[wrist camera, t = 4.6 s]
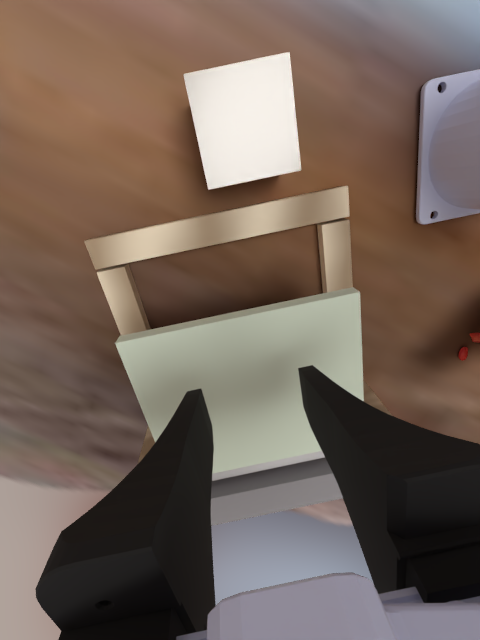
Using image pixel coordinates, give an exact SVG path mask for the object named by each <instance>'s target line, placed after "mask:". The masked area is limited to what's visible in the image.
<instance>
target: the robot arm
mask: <svg viewBox="0 0 480 640" xmlns="http://www.w3.org/2000/svg"><path fill="white" fill-rule="evenodd" d="M439 84H440V85H441V87H442V90H441V92H440V93H439V92H438V89H437V88H438V85H439ZM432 212H434V216H433V217H432V218H430V215H431V213H432ZM478 213H480V69H478V70H473V71H468V72H463V73H458V74H454V75H449V76H444V77H439V78H435V79H432V80H430V81H428V82H426V83H425V84H424V85H423V87H422V90H421V102H420V128H419V153H418V179H417V205H416V221H417V222H418V223H419V224H430V223H435V222H439V221H444V220H449V219H454V218H458V217H463V216H468V215H473V214H478ZM298 371H299V378H300V386H301V393H302V401H303V407H304V410H305V413H306V416H307V419H308V422H309V424H310V427H311V429H312V431H313V434H314V436H315V438H316V440H317V442H318V444H319V446H320V448H321V450H322V452H323V454H324V456H325V458H326V460H327V462H328V464H329V466H330V468H331V470H332V472H333V474H334V477H335V479H336V481H337V483H338V486H339V488H340V491H341V494H342V496H343V499H344V502H345V504H346V507H347V510H348V512H349V515H350V518H351V521H352V523H353V526H354V529H355V531H356V534H357V537H358V539H359V543H360V545H361V548H362V551H363V554H364V557H365V560H366V562H367V565H368V568H369V571H370V574H371V577H372V580H373V583H374V585H373V583H372V581H371V580H369V579H367V578H365V577H363V576H360V575H357V574H355V573H333V574H327V575H323V576H318V577H313V578H308V579H304V580H299V581H294V582H290V583H285V584H280V585H275V586H270V587H265V588H261V589H256V590H251V591H246V592H242V593H238V594H236V595H233V596H230V597H228V598H225V599H223V600H222V601H220V602H219V603H218V604H217V605H216V606H215V591H214V575H213V556H212V537H211V488H212V471H213V452H214V444H213V429H212V423H211V419H210V416H209V413H208V409H207V406H206V403H205V399H204V396H203V392H202V389H196V390H191V391H187V392H186V394H185V396H184V397H183V399H182V401H181V403H180V404H179V406H178V408H177V410H176V411H175V413H174V415H173V416H172V418H171V420H170V421H169V423H168V425H167V426H166V428H165V429H164V431H163V432H162V434H161V435H160V436H159V438H158V439H157V441H156V442H155V444H154V445H153V446H152V448H151V449H150V450H149V452H148V453H147V454H146V455H145V456H144V458H143V459H142V460H141V461H140V462H139V463H138V465H137V466H136V467H135V468H134V469H133V470H132V471H131V472H130V473H129V474H128V475H127V476H126V477H125V478H124V479H123V480H122V481H121V482H120V483H119V484H118V485H117V486H116V487H115V488H114V489H113V490H112V491H111V492H110V493H109V494H108V495H106V496H105V497H104V498H103V499H102V500H101V501H100V502H98V503H97V504H96V505H95V506H94V507H93V508H91V509H90V510H89V511H88V512H87V513H85V514H84V515H83V516H81V517H80V518H79V519H77V520H76V521H75V522H74V523H72V524H71V525H70V526H68V527H67V528H66V529H64V530H63V531H62V532H61V534H60V536H59V538H58V540H57V542H56V544H55V546H54V548H53V550H52V552H51V555H50V557H49V559H48V561H47V564H46V566H45V568H44V571H43V573H42V575H41V578H40V580H39V582H38V585H37V587H36V598H37V600H38V602H39V603H40V605H41V607H42V608H43V610H44V611H45V612H46V613H47V614H48V616H49V617H50V618H51V619H52V620H53V621H54V623H55V624H56V625H57V626H58V627H59V628H60V630H61V634H60V637H59V640H480V445H479V444H477V443H473V442H469V441H465V440H462V439H458V438H454V437H450V436H446V435H443V434H440V433H436V432H433V431H430V430H427V429H424V428H421V427H419V426H416V425H413V424H410V423H408V422H406V421H403V420H401V419H398V418H396V417H393V416H391V415H389V414H387V413H385V412H383V411H381V410H379V409H377V408H375V407H373V406H371V405H369V404H367V403H365V402H364V401H362V400H360V399H359V398H357V397H355V396H354V395H352V394H351V393H349V392H348V391H346V390H345V389H343V388H342V387H341V386H339V385H338V384H336V383H335V382H334V381H332V380H331V379H330V378H328V377H327V376H326V375H324V374H323V373H322V372H321V371H319V370H318V369H317V368H316V367H314V366H313V365H310V366H306V367H301V368H298Z"/></svg>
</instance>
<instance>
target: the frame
mask: <svg viewBox="0 0 480 640" xmlns="http://www.w3.org/2000/svg"><path fill="white" fill-rule="evenodd" d="M344 217H349V194H348V186H340V187H335V188H330V189H325V190H320V191H316V192H311V193H306V194H301V195H297V196H292V197H287V198H282V199H278V200H273V201H268V202H263V203H258V204H254V205H249V206H244V207H239V208H235V209H230V210H225V211H220V212H216V213H211V214H206V215H201V216H196V217H192V218H187V219H182V220H177V221H173V222H168V223H163V224H158V225H154V226H149V227H144V228H139V229H134V230H130V231H125V232H120V233H115V234H111V235H106V236H101V237H96V238H91V239H88V240H86V241H84V242H85V244H86V247H87V249H88V252H89V255H90V257H91V260H92V262H93V265H94V267H95V270H96V269H101V268H104V269H101V270H100V271H98V272H97V275H98V278H99V280H100V283H101V285H102V288H103V290H104V293H105V296H106V298H107V301H108V303H109V306H110V308H111V311H112V313H113V316H114V319H115V321H116V324H117V326H118V329H119V331H120V334H121V336H122V335H127V334H132V333H136V332H141V331H146V330H151V328H150V325H149V322H148V319H147V316H146V313H145V311H144V308H143V305H142V302H141V299H140V296H139V293H138V290H137V287H136V284H135V281H134V278H133V276H132V273H131V270H130V267H129V264H125V263H129V262H134V261H139V260H144V259H149V258H153V257H158V256H163V255H168V254H172V253H177V252H182V251H187V250H192V249H196V248H201V247H206V246H211V245H215V244H220V243H225V242H230V241H234V240H239V239H244V238H249V237H254V236H258V235H263V234H268V233H273V232H277V231H282V230H287V229H292V228H297V227H301V226H306V225H311V224H316V223H319V224H317V230H318V242H319V253H320V265H321V277H322V288H323V293H327V292H332V291H337V290H342V289H346V288H351V287H353V284H352V261H351V239H350V220H349V219H344ZM339 218H343V219H339ZM335 219H338V220H335ZM330 220H333V221H330ZM325 221H328V222H325ZM320 222H324V223H320ZM120 264H123V265H120ZM115 265H118V266H115ZM110 266H114V267H110ZM106 267H109V268H106ZM363 392H364V402H365V403H367V404H369V405H371V406H373V407H375V408H377V409H379V410H381V411H383V412H385V413H387V414H389V415H391V414H390V412H389V411H388V410H387V408H386V407H385V406H384V405H383V403H382V402H381V401H380V400H379V398H378V397H377V396H376V395H375V393H374V392H373V391H372V390H371V388H370V387H369V386H368V385H367V383H366V382H365V381H364V380H363ZM391 416H392V415H391ZM154 444H155V441H154V438H153V436H152V433H151V431H150V428H149V426H148V428H147V432H146V435H145V439H144V443H143V446H142V450H141V454H140V457H139V461H138V463H139V462H140V461H141V460H142V459H143V458H144V456H145V455H146V454H147V453H148V452H149V450H150V449H151V448H152V446H153V445H154Z"/></svg>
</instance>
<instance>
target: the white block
mask: <svg viewBox="0 0 480 640" xmlns="http://www.w3.org/2000/svg"><path fill="white" fill-rule="evenodd" d="M183 75H184V79H185V84H186V88H187V93H188V98H189V102H190V107H191V112H192V116H193V121H194V126H195V130H196V135H197V140H198V144H199V149H200V154H201V158H202V163H203V167H204V172H205V177H206V181H207V186H208V190H212V189H216V188H221V187H226V186H231V185H235V184H240V183H245V182H250V181H254V180H259V179H264V178H269V177H273V176H278V175H283V174H287V173H292V172H296V171H300V170H301V163H300V153H299V143H298V133H297V123H296V113H295V103H294V93H293V83H292V73H291V63H290V53H289V52H287V53H282V54H277V55H272V56H268V57H263V58H258V59H253V60H249V61H244V62H239V63H234V64H229V65H225V66H220V67H215V68H210V69H206V70H201V71H196V72H191V73H187V74H183Z"/></svg>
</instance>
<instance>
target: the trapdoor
mask: <svg viewBox="0 0 480 640" xmlns="http://www.w3.org/2000/svg"><path fill="white" fill-rule="evenodd" d="M115 344H116V347H117V349H118V352H119V354H120V357H121V359H122V362H123V364H124V367H125V369H126V372H127V374H128V376H129V379H130V381H131V384H132V386H133V389H134V391H135V394H136V396H137V399H138V401H139V404H140V406H141V409H142V411H143V414H144V416H145V419H146V421H147V424H148V426H149V428H150V431H151V433H152V436H153V438H154V441H155V442H156V441H157V439H158V438H159V436H160V435H161V434H162V432H163V431H164V429H165V428H166V426H167V425H168V423H169V421H170V420H171V418H172V416H173V415H174V413H175V411H176V410H177V408H178V406H179V404H180V403H181V401H182V399H183V397H184V396H185V394H186V392H187V391H191V390H196V389H202V392H203V396H204V399H205V403H206V406H207V409H208V413H209V416H210V419H211V423H212V429H213V444H214V452H213V471H212V488H211V526H212V525H218V524H222V523H227V522H232V521H237V520H241V519H246V518H251V517H255V516H261V515H265V514H269V513H275V512H280V511H284V510H289V509H294V508H299V507H304V506H308V505H313V504H318V503H323V502H328V501H332V500H337V499H342V498H343V496H342V494H341V491H340V488H339V486H338V483H337V481H336V479H335V477H334V474H333V472H332V470H331V468H330V466H329V464H328V462H327V460H326V458H325V456H324V454H323V452H322V450H321V448H320V446H319V444H318V442H317V440H316V438H315V436H314V434H313V431H312V429H311V427H310V424H309V422H308V419H307V416H306V413H305V410H304V407H303V401H302V393H301V386H300V378H299V371H298V368H301V367H306V366H310V365H313V366H314V367H316V368H317V369H318V370H319V371H321V372H322V373H323V374H324V375H326V376H327V377H328V378H330V379H331V380H332V381H334V382H335V383H336V384H338V385H339V386H341V387H342V388H343V389H345V390H346V391H348V392H349V393H351V394H352V395H354V396H355V397H357V398H359V399H360V400H362V401H364V392H363V363H362V334H361V305H360V292H359V291H358V290H356V289H355V288H354V287H351V288H346V289H342V290H337V291H332V292H327V293H323V294H318V295H313V296H308V297H303V298H299V299H294V300H289V301H284V302H280V303H275V304H270V305H265V306H260V307H256V308H251V309H246V310H241V311H237V312H232V313H227V314H222V315H218V316H213V317H208V318H203V319H198V320H194V321H189V322H184V323H179V324H175V325H170V326H165V327H160V328H155V329H151V330H146V331H141V332H136V333H132V334H127V335H122V336H119V338H118V340H117V341H116V343H115Z"/></svg>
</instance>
